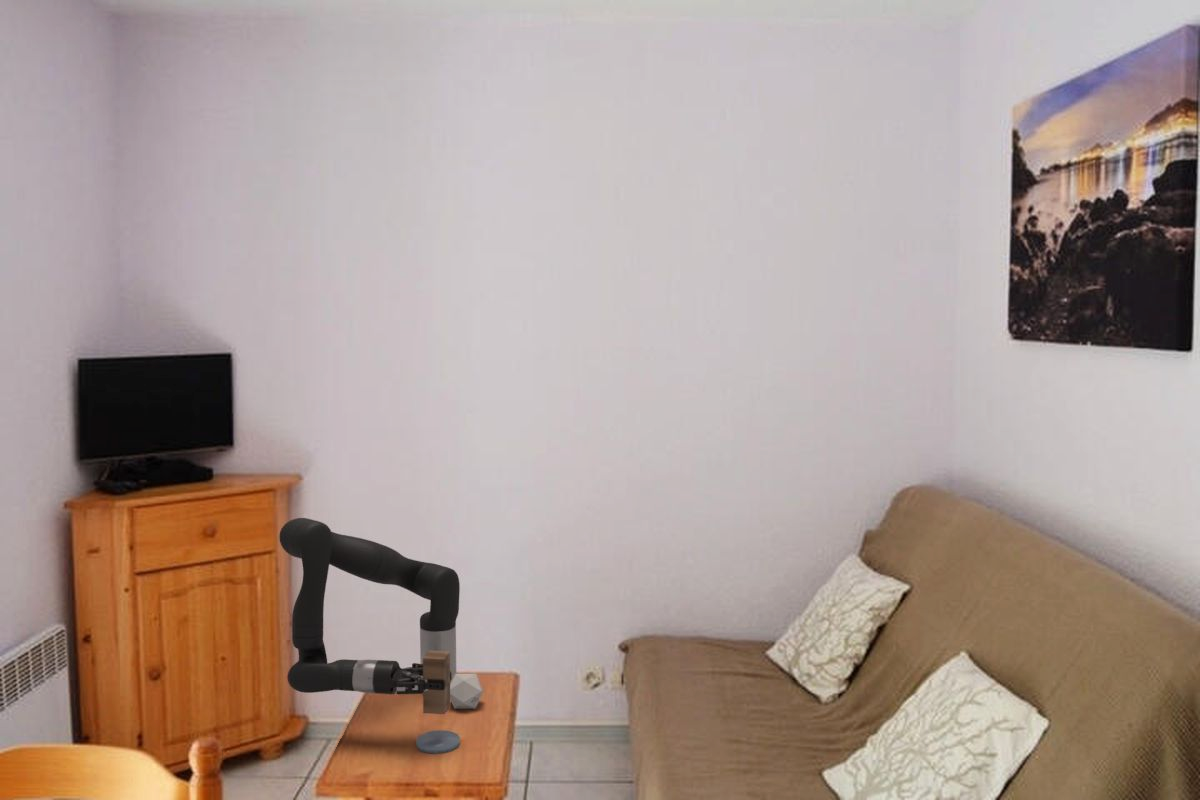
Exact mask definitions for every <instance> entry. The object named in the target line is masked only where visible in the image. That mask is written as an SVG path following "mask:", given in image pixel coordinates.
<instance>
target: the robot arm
mask: <svg viewBox="0 0 1200 800" xmlns="http://www.w3.org/2000/svg"><path fill="white" fill-rule="evenodd" d="M278 537H279V543H280V545H281V547H282V549H283V550H284V551H285V553H287V554H288V555H289V556H292V557H294V558H297V559H301V563H302V573H303V574H302V583H301V587H300V590H299V593H298V595H297V597H296V600H295V602H294V605H293V609H292V617H291V623H292V624H291V634H292V635H291V640H292V645H293V647H294V648H295V649H297V652H298V653H297V654H298V661H296V662H295V663H294V664H293V665H291V667H290V668H289V670H288V672H287V682H288V684H289V686H290V687H291V688H292V689H293V690H295V691H297V692H300V693H307V694H309V693H310V694H311V693H312V694H313V693H323V692H331V691H344V692H346V691H347V692H348V691H349V692H358V693H365V694H376V695H377V694H378V695H395V694H396V695H421V694H422V695H423V691H428V689H429V690H444V689H445V687H446V685H445V680H436V679H429V681H428V679H426V678H423V657H424V656H425V655H426V654H427V652H428V651H446V652H450V684H451V682H452V680H453V678H454V676H455V674H457V632H456V631H457V630H456V629H457V628H456V627H457V626H456V625H457V624H456V623H457V618H458V615H459V610H460V590H461V589H460V588H461V587H460V578H459V574H458V573H457V571H455V569H453V568H450V567H447V566H444V565H440V564H436V563H434V562H425V561H420V560H415V559H413V558H408V557H406V556H405V555H402V554H401V553H400V552H399V551H397V550H395V549H393V548H391V547H389V546H387V545H384V544H382V543H379V542H375V541H373V540H369V539H366V538H361V537H356V536H352V535H346V534H341V533H336V532H334V531H331V528H330V527H329V526H328V524H326V523H324V522H322V521H319V520H315V519H311V518H307V517H298V518H296V517H295V518H293V519H291V520H289V521H287V522H286V523H284V524H283V525H282V527H281V528H280V532H279V536H278ZM330 565H331V566H333V567H335V568H337V569H339V570H341V571H343V572H346V573H348V574H350V575H353V576H355V577H358V578H360V579H364V580H366V581H369V582H371V583H372V582H373V583H377V584H381V585H392V586H397V587H400V588H403V589H405V590H407V591H409V592H411V593H413V594H415V595H416V596H419V597H421V598H423V599H425V600H429V601H430V604H429V605H430V606H429V611H427V612H424V613H423V614H422V615H421V616H420V617H419V642H420V643H419V645H420V646H419V647H420V651H419V652H420V658H419V660H420V663H417V662H413V663H412V664H411V665H412V666H409V667H408V666H407V667H403V668H402V667H401V666H400V664H399V662H398V661H397V660H382V659H344V658H343V659H337V660H335V661H332V662H328V658H327V657H328V656H327V653H326V652H327V650H326V647H325V642H324V605H325V603H324V602H325V596H326V595H325V594H326V587H327V582H328V581H327V580H328V575H329V567H330Z"/></svg>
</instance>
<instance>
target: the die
mask: <svg viewBox="0 0 1200 800" xmlns="http://www.w3.org/2000/svg"><path fill="white" fill-rule="evenodd" d="M483 693H484V689H483V687H482V684H481V682H480V679H479V677H478V674H477V673H456V674H455V676H454V678H453V680H452V682H451V684H450V703H451V704H452V706H453V708H454V710H476V709H477V707H478V704H479V702H480V700H481V697H482V695H483Z"/></svg>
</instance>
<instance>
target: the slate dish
mask: <svg viewBox="0 0 1200 800" xmlns="http://www.w3.org/2000/svg"><path fill="white" fill-rule="evenodd" d="M415 744H416V749H417V750H418V751H420V752H422V753H425V754H434V755H437V754H445V753H449V752H452V751H455V750H456V749H458V748H459V746H460V745H461V738H460V735H459V734H458V733H456V732H453V731H451V730H446V729H445V730H444V729H441V730H437V729H436V730H431V731H427V732H423V733H421V734H419V736H417V738H416V740H415Z"/></svg>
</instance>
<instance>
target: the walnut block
mask: <svg viewBox="0 0 1200 800" xmlns="http://www.w3.org/2000/svg"><path fill="white" fill-rule="evenodd" d="M423 678H426V679H428V681H429V679H436V680H445V685H446V687H445V689H444V690H429V689H428V691H423V693H422V701H423V702H422V704H423V705H422V706H423V707H422V711H423V714H433V715H446V713H447V712H448V710H449V708H450V707H451V700H450V652H446V651H428V652H427V654H426V655H425V656H424V657H423Z"/></svg>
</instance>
